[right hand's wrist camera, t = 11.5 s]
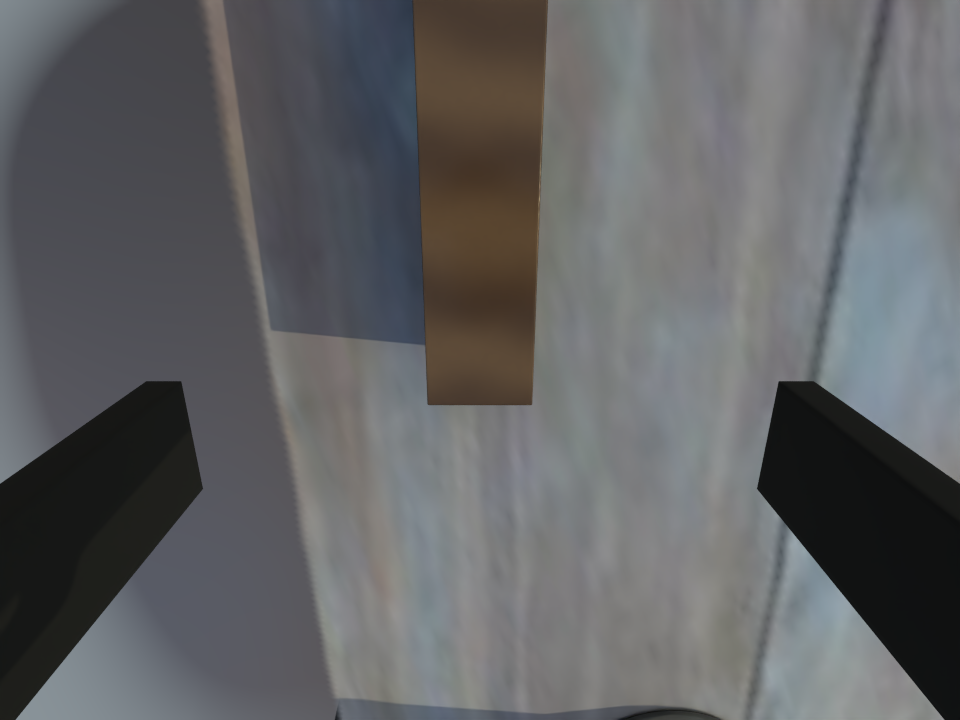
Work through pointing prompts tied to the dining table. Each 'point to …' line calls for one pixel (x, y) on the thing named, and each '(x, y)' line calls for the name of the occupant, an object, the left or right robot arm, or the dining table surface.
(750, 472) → the dining table surface
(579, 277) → the dining table surface
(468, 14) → the beam
